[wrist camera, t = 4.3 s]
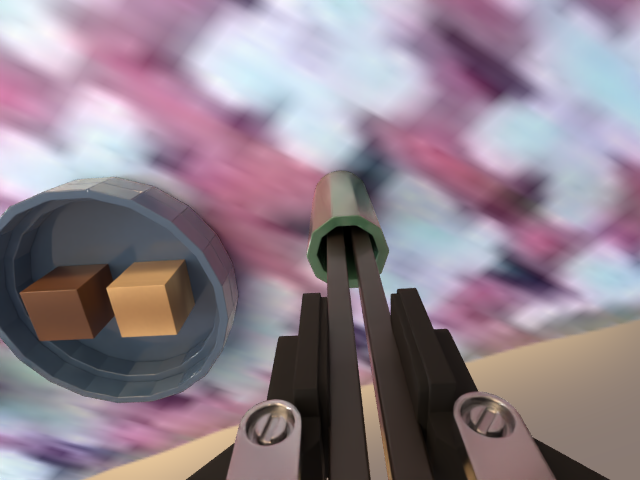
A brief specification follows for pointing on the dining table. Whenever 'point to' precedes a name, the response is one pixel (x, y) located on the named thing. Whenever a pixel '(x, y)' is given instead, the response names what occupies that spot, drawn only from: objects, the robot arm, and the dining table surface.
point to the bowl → (119, 253)
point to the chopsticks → (387, 371)
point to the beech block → (152, 298)
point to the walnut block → (70, 302)
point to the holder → (342, 222)
